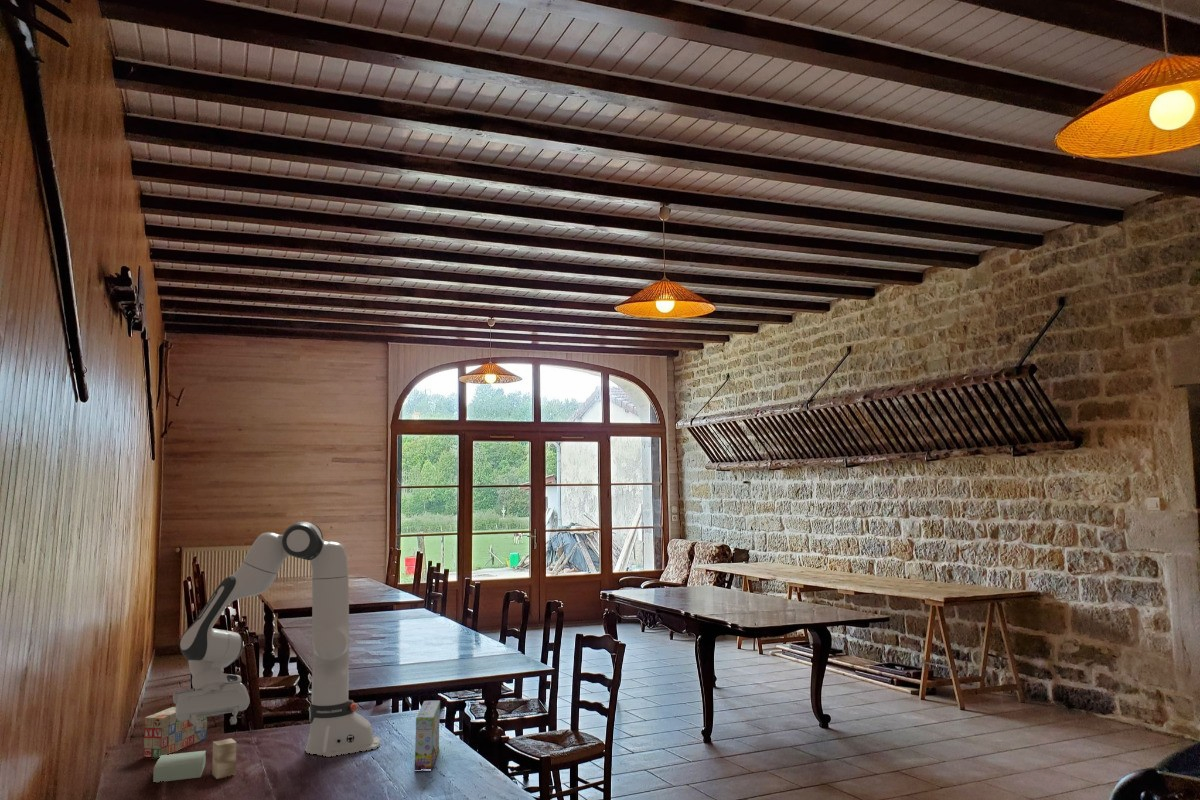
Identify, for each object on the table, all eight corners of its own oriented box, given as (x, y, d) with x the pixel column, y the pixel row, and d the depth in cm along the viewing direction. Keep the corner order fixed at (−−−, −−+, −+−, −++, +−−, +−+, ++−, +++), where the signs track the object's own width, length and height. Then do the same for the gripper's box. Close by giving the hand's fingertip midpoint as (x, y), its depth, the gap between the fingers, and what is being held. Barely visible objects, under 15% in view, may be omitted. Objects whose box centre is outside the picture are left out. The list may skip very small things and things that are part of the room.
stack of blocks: (190, 738, 276) (191, 699, 277) (206, 738, 274) (208, 700, 276) (142, 758, 255) (144, 716, 256) (160, 759, 254) (162, 717, 255)
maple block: (230, 770, 241) (231, 738, 242) (235, 774, 238) (236, 742, 239) (211, 774, 238) (213, 741, 239) (216, 778, 235) (217, 745, 236)
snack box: (433, 771, 237) (434, 717, 239) (413, 772, 237) (414, 717, 239) (440, 749, 258) (440, 699, 260) (422, 750, 258) (422, 699, 259)
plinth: (205, 764, 247) (205, 750, 248) (200, 777, 236) (201, 762, 236) (160, 769, 243) (160, 755, 244) (153, 782, 232) (153, 767, 233)
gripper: (173, 685, 246) (180, 726, 238) (246, 675, 259) (254, 713, 250) (169, 698, 249) (176, 739, 241) (241, 687, 262) (249, 726, 253)
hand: (216, 726), depth 246 cm, fingers open, 8 cm apart
